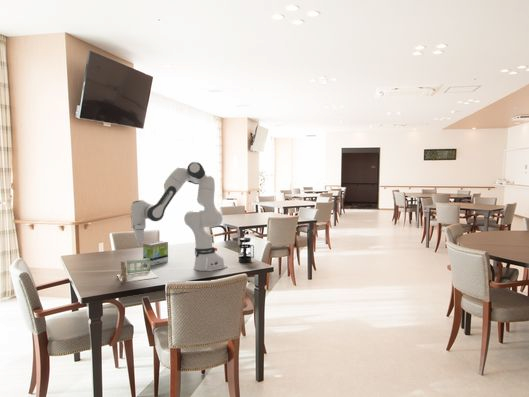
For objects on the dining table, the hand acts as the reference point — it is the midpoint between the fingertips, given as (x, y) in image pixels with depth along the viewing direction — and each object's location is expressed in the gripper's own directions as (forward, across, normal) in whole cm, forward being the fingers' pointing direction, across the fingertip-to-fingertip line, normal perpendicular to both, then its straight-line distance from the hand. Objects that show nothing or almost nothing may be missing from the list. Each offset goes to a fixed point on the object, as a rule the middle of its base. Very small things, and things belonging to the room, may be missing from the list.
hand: (138, 246), depth 241 cm
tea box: (+16, -20, +13) cm, 29 cm away
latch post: (+17, +21, -10) cm, 29 cm away
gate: (+16, +5, -1) cm, 17 cm away
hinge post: (+17, +6, -10) cm, 21 cm away
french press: (+16, +6, +72) cm, 74 cm away
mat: (+17, +12, -2) cm, 21 cm away
